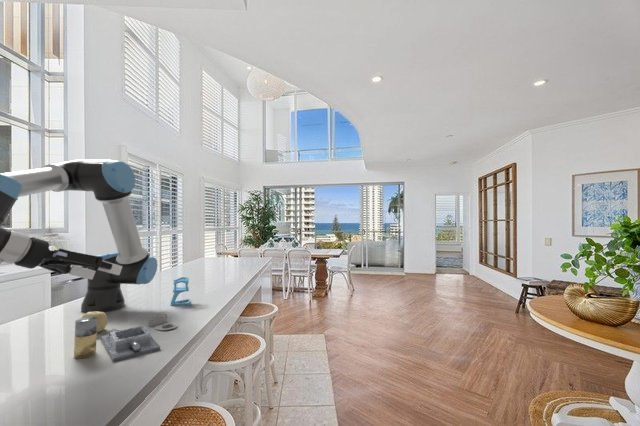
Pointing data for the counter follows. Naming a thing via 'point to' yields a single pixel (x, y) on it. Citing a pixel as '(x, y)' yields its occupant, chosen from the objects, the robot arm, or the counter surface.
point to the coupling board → (129, 343)
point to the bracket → (159, 320)
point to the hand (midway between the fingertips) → (106, 273)
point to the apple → (98, 319)
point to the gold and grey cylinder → (85, 337)
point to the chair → (180, 291)
